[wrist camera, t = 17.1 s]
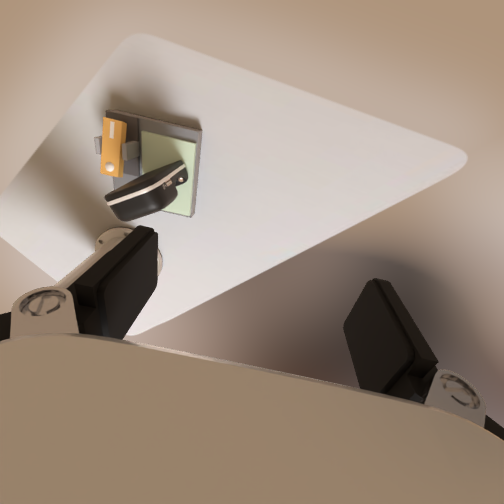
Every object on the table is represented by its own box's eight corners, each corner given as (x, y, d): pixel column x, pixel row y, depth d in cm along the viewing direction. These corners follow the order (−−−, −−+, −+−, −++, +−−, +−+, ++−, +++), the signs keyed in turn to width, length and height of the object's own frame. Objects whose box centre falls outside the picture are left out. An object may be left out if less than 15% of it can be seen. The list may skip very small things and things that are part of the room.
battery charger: (155, 197, 39) (115, 229, 30) (142, 173, 38) (95, 199, 28) (195, 183, 38) (166, 212, 28) (183, 158, 36) (148, 179, 26)
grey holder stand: (194, 213, 43) (184, 227, 38) (121, 196, 43) (101, 208, 38) (202, 130, 36) (190, 135, 31) (115, 109, 36) (90, 111, 31)
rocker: (122, 177, 35) (117, 177, 34) (105, 173, 35) (100, 173, 34) (126, 123, 33) (121, 121, 32) (108, 119, 33) (103, 116, 32)
